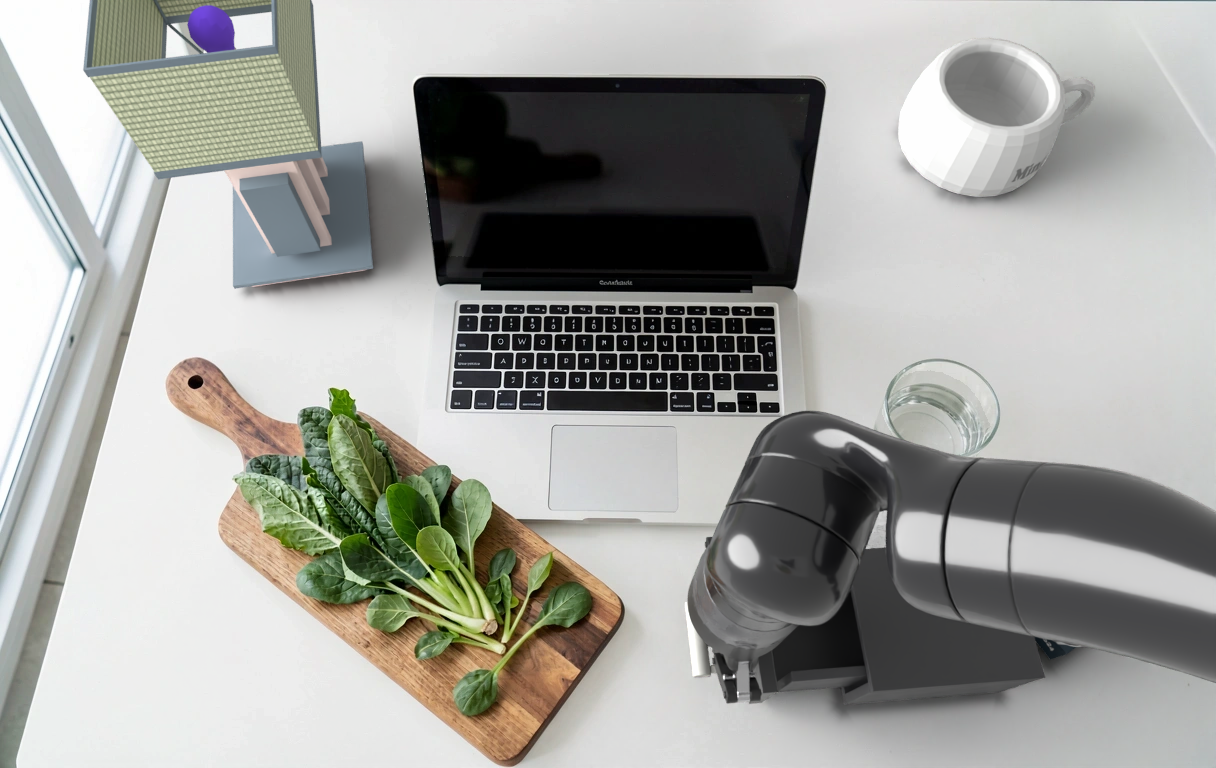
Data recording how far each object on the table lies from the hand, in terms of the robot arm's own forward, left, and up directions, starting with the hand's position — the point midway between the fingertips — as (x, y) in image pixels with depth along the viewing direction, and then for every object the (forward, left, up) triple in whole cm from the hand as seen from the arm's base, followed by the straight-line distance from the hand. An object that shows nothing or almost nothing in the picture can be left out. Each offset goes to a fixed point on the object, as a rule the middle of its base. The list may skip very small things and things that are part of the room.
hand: (718, 636), depth 75 cm
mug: (-39, -54, -5) cm, 66 cm away
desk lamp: (+38, -48, -5) cm, 62 cm away
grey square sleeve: (-18, 0, -4) cm, 18 cm away
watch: (-30, 0, -5) cm, 30 cm away
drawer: (-6, 0, -3) cm, 7 cm away
